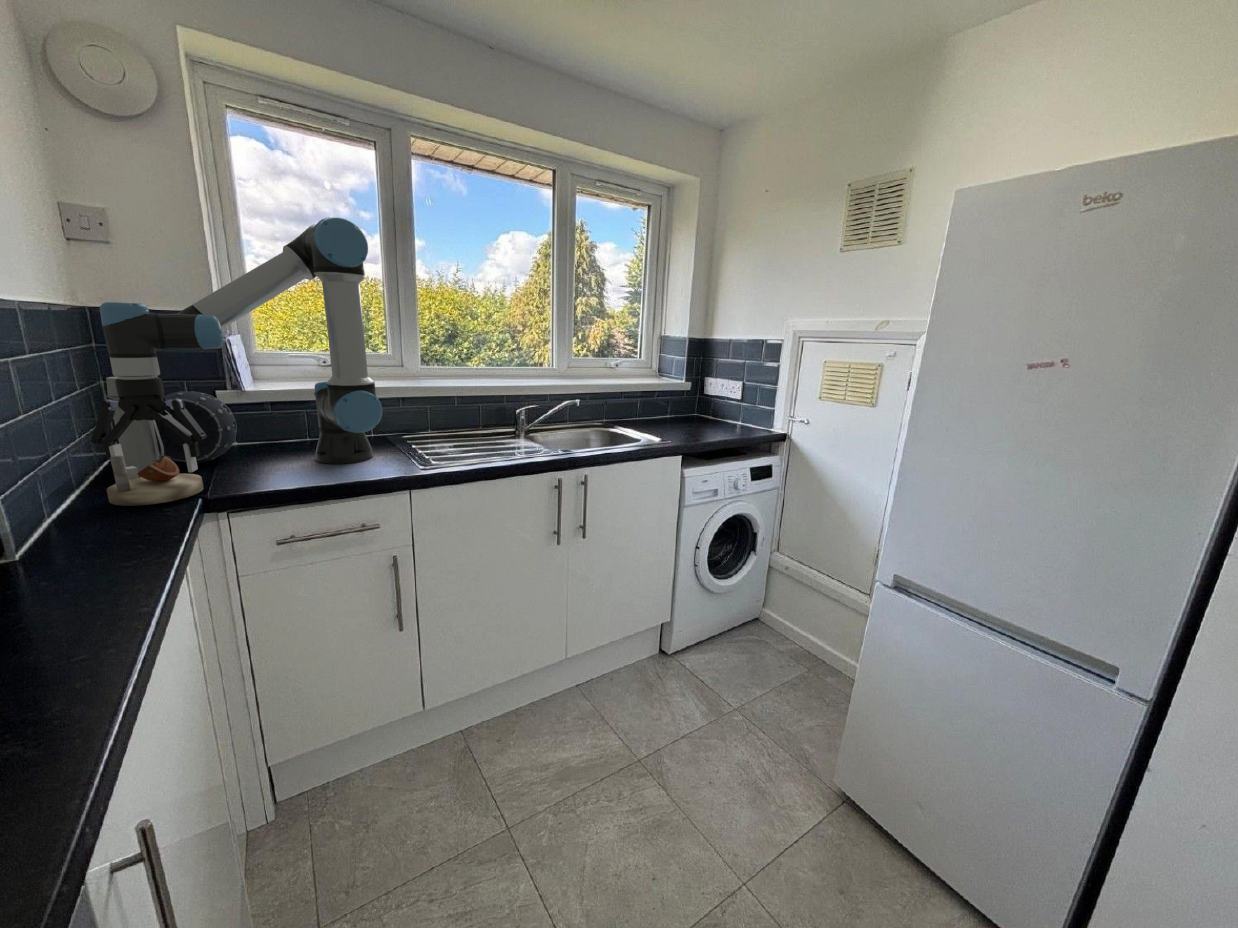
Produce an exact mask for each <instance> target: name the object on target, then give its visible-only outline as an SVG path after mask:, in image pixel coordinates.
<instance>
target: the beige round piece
mask: <svg viewBox="0 0 1238 928" xmlns="http://www.w3.org/2000/svg"><path fill="white" fill-rule="evenodd" d="M109 461H110V464H111V468H112V471H113V477H114V482H115V483H114V484H112V485H110V486H109V487H107V488H106V493H107V498H108V503H110V504H112V505H115V506H123V507H126V506H128V507H132V506H133V507H134V506H148V505H149V506H150V505H156V504H162V503H163V504H164V503H169V502H173V501H178V500H181V499H185V498H189V497H191V496H194V495H198V494H199V493H200V492H202V491H203V490H204V483H203V478H202V476H201V475H199V474H195V473H179V474H178V475H177V476H176V477H174V478H172V479H170V480H167V481H152V480H147V479H144V478H142V477H141V476H139V475H138V477H139V478H136V479H131V480H128V475H127V471H126V467H125V462H124V458H123V456H113V457H110V460H109Z"/></svg>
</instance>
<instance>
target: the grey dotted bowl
mask: <svg viewBox="0 0 1238 928" xmlns="http://www.w3.org/2000/svg"><path fill="white" fill-rule="evenodd" d="M164 397H165V399H166V400H167V401H170V400H176V399H182V400H183V401H184V404H185V408H186V409H187V411H188V412H189V413H190V414H191V416H192V417H193V418H194V420H195V421H196V422H197V423H198V425H199V426H200V427H201V429H202V430H203V431H204V432H205V434H206V435H207V437H206V438H205V439H203V440H200V441H198V447H199V453H200V454H199V456H197V457H196V461H197V464H202V463H205V462H209V461H214V460H215V459H216V458H219V457H221V456H222V455H224V454H225V453H226V452H227V451H229V449H230V448H231V447H232V445H234V442H235V440H236V437H237V433H238V426H237V420H236V418H235V415H234V414H233V412H232V411H231V409H230V408H229V407H228V406H227V404H226V403H224V402H223V401H221V400H220V399H218V398H217V397H214V396H213V395H210V394H207V393H204V392H200V391H176V392H172V393H169V394H166V395H164ZM166 411H167V412H168V413H169V414H171V415H172V417H173V418H174V419H175V420H176V421H178V422H179V423H180V424H181V425H183V426H184V427H185V428H186V429H187V430H188V428H187V427H186V426H185V425H184V423H183V422H182V421H181V419H180V418H179V417H178V416H177V414H176V413H175V411H174V410H172V409H171V408H170V407H169V406H168V407H167V408H166ZM155 422H156V425H157V428H158V431H159V434H160V437H161V440H162V443H163V446H164V456H163V457H165V456H167V457H168V458H170V459H171V460H172V461H173V462H179V463H182V464H187V462H186V457H185V452H184V447H183V444H185V443H187V442H186V441H185V440H183V439H182V438H181V437H180V436H178V435H177V434H176V433H175V432H173V431H172V430H171V429H170V428H169V427H167V426H166V425H165V424H164V423H162V422H159V421H158V420H157V419H156V420H155ZM153 425H154V424H153ZM154 429H155V427H154ZM155 434H156V431H155ZM156 439H157V444H158V449H159V454H160V455H161V446H160V443H159V440H158V437H157V434H156Z"/></svg>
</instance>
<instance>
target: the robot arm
mask: <svg viewBox="0 0 1238 928" xmlns="http://www.w3.org/2000/svg"><path fill="white" fill-rule="evenodd" d="M368 242H369V241H368V240H367V237H366V235H365V233H364V232H363V231H362V230H361V228H360V227H359V226H358V225H356V224H355V223H354V222H352V221H351V220H349V219H346V218H343V217H340V216H339V217H338V216H332V217H325V218H322V219H320V220H319V221H318V222H316V223H314V224H312V225H310V226H308V228H306V229H305V230H303V232H302V233H301V234H299V235H298V236H297V237H296V238H294V239H293V240H291V241H290V242H289V243H287V244H285V245H284V246H282V251H281V252H280V253H279V254H277V255H276V256H273V257H272V258H270V259H269V260H267V261H265V262H264V263H261V264H260V265H258V266H256V267H255V268H253V269H252V270H251V269H250V271H247V272H246V273H244V274H242V275H241V276H239V277H237V278H235V279H234V280H232V281H231V282H229V283H226V284H225V285H223V286H222V287H219V288H217V290H215V291H213V292H211V293H210V294H208V295H206V296H204V297H202V298H201V299H198V300H197V301H196V302H194V303H192V304H191V305H189V306H187V307H185V308H184V309H182V310H180V311H179V312H177V313H154V312H150V310H149V308H148V306H147V305H146V304H145V303H140V302H139V303H137V302H136V303H135V302H117V301H116V302H114V301H113V302H112V301H111V302H110V301H106V302H103V303H101V304H100V305H99V313H100V321H101V326H102V331H103V336H104V339H105V343H106V347H107V352H108V356H109V361H110V365H111V372H112V376H113V377H118V379H116V380H115V385H116V389H117V394H118V396H119V401H114V400H113V399H112V398H109V399H105V400H102V401H101V402H100V407H101V411H100V414H99V416H98V420H97V423H96V424H95V428H94V429H93V433H92V436H91V438H90V443H91V444H96V445H97V444H98V445H101V446H103V447H104V452H105V456H106V459H107V460H108V461H111V460H110V457H113V456H123V452H122V448H121V444H119V443H118V441H119V440H118V439H119V438H120V436H121V435H122V434H123V433H124V431H125V430H126V429H127V427H128V426H129V425H130V424H131V422H132V421H134V420H136V421H140V420H156V419H157V420H158V421H159V422H162V423H164V424H165V425H166V426H167V427H169V428H170V429H171V430H172V431H173V432H175V433H176V434H177V435H178V436H180V437H181V438H182V439H183V440H185V441H186V442H187V443H185V444H183V447H184V452H185V457H186V462H187V463H186V466H187V472H188V473H193V472H195V471H197V470H198V469H199V467H198V463H197V461H196V457H197V456H199V454H200V453H199V447H198V441H200V440H203V439H205V438H206V437H207V435H206V434H205V432H204V431H203V430H202V429H201V427H200V426H199V425H198V423H197V422H196V421H195V420H194V418H193V417H192V416H191V414H190V413H189V412H188V411H187V409H186V408H185V404H184V401H183V400H182V399H176V400H170V401H167V400H166V399H165V397H164V396H165V389H164V385H163V381H162V380H163V379H162V378H160V377H158V376H160V375H161V371H160V365H159V361H158V355H157V350H159V349H160V350H165V349H166V350H171V349H173V350H174V349H175V350H204V351H205V350H212V349H213V350H216V349H221V348H222V347H223V346H224V340H223V338H224V337H223V332H222V330H223V329H224V328H226V327H228V326H229V325H231V324H233V323H234V322H236V321H238V320H239V319H241V318H243V317H244V316H246V315H247V314H249V313H251V312H252V311H255V309H257V308H259V307H260V306H261V307H262V305H264V304H266V303H267V302H269V301H270V300H272V299H274V298H276V297H278V296H279V295H280V294H282V293H284V292H285V291H287V290H288V289H291V288H292V287H294V286H296V285H298V284H299V283H300V282H302V281H304V280H310V281H312V280H314V279H315V278H316V277H317V278H318V279H319V280H320V282H321V285H322V292H323V293H322V295H323V304H324V312H325V321H326V331H327V339H328V346H329V347H328V349H329V358H330V367H331V377H330V378H329V379H328V380H327V381H319V382H317V383H315V384H314V393H313V394H314V398H315V404H316V406H315V407H316V414H317V421H318V428H319V429H318V430H319V435H318V436H319V437H318V441H317V443H316V444H317V445H316V449H315V461H316V462H318V463H322V464H329V465H330V464H333V465H334V464H335V465H336V464H349V463H351V464H352V463H356V462H362V461H365V460H369V459H371V458H372V457H374V455H373V448H372V446H371V444H370V441H369V439H368V437H367V436H366V435H367V434H366V432H369V431H371V430H373V429H374V428H376V427H377V425H379V423H380V422H381V420H382V416H383V406H382V405H383V404H382V403H381V401H380V399H379V398H378V397H377V394H376V393H377V392H376V385H375V380H374V379H372V378H371V377H370V376H369V373H368V362H367V350H366V341H365V330H364V319H363V309H362V307H363V306H362V297H361V287H360V286H361V283H362V282H363V281H364V279H365V278H366V272H365V270H366V269H365V261H366V259H367V257H368V254H369V243H368ZM168 406H169V407H170V408H171V409H172V410H174V411H175V413H176V414H177V416H178V417H179V418H180V419H181V421H182V422H183V423H184V425H185V426H186V427H187V428H188V430H187V429H186V428H185V427H184V426H183V425H181V424H180V423H179V422H178V421H176V420H175V419H174V418H173V417H172V415H171V414H169V413H168V412H167V411H166V408H167V407H168ZM118 407H120V408H121V409H122V410H123V411H124V412H125V413H124V414H123V415H122V416H121V418H120V420H119V422H118V423H117V424H116V425H115V424H114V427H113V428H112V429H111V430H110V427H111V424H112V422H113V420H114V418H113V417H114V414H115V410H117V409H118ZM109 430H110V432H109ZM108 432H109V433H108ZM123 458H124V457H123ZM124 462H125V461H124ZM125 467H126V465H125ZM126 471H127V470H126Z"/></svg>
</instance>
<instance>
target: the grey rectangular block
mask: <svg viewBox="0 0 1238 928" xmlns="http://www.w3.org/2000/svg"><path fill="white" fill-rule="evenodd" d="M126 470H127V475H128V480H131V479H136V478H139V477H138V474H137V473H138V470H137V467H134V466H129V467H126Z"/></svg>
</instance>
